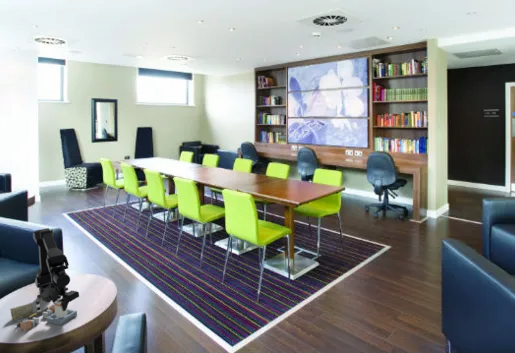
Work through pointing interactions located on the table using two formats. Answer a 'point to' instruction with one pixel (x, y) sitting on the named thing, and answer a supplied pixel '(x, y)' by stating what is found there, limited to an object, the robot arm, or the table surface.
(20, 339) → the table surface
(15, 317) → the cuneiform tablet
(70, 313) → the tray
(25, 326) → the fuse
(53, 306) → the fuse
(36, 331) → the table surface
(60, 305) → the marked fuse
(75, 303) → the table surface
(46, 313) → the fuse block
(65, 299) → the robot arm
